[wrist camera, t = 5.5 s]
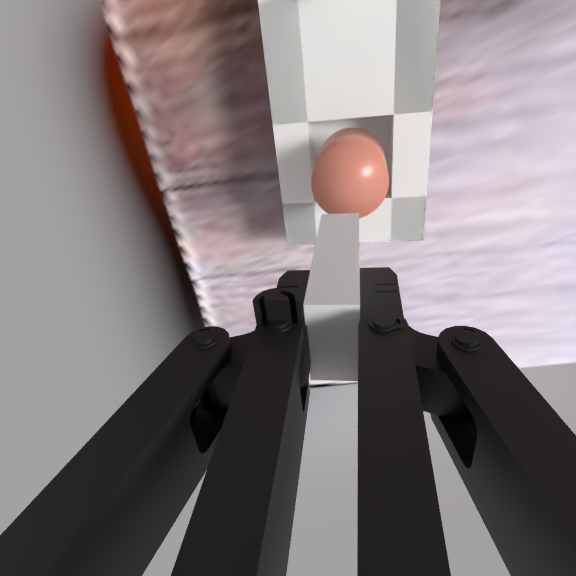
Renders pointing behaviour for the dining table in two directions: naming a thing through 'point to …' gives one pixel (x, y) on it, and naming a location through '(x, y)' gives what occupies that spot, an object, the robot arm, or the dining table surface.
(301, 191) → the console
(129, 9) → the dining table surface
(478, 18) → the dining table surface
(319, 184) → the salmon rounded knob
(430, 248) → the dining table surface
